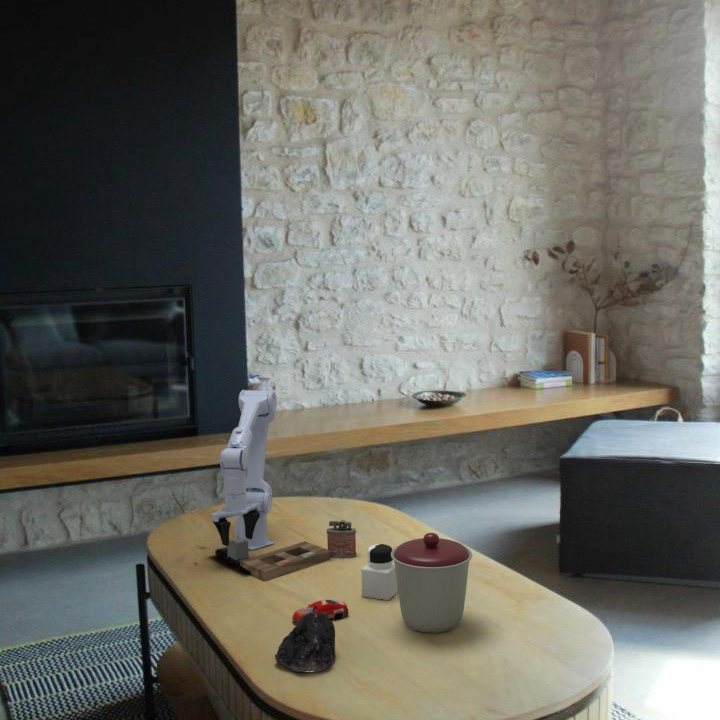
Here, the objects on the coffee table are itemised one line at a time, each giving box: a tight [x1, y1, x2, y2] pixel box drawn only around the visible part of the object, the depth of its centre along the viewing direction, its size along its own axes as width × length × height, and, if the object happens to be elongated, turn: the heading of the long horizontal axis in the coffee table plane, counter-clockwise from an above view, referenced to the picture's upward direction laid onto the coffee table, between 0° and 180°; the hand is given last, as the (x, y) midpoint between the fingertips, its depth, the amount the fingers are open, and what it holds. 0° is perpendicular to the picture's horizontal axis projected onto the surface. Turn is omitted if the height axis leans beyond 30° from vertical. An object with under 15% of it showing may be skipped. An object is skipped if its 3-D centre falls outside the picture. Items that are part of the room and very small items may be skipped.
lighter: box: [326, 519, 358, 559], centre depth 258 cm, size 8×3×10 cm, turn 84°
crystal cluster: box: [274, 612, 337, 673], centre depth 196 cm, size 13×14×10 cm
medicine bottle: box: [360, 543, 398, 601], centre depth 231 cm, size 7×7×12 cm
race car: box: [291, 599, 349, 625], centre depth 217 cm, size 13×5×4 cm, turn 113°
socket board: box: [239, 541, 332, 582], centre depth 253 cm, size 11×22×3 cm, turn 132°
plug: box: [226, 538, 250, 560], centre depth 255 cm, size 4×4×6 cm
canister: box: [391, 532, 473, 634], centre depth 212 cm, size 18×18×21 cm
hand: (237, 541), depth 254 cm, fingers open, 7 cm apart
